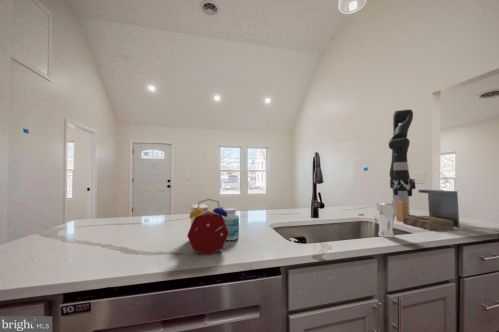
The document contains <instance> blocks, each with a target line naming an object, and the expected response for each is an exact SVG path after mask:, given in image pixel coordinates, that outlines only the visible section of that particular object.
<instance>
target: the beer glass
mask: <svg viewBox="0 0 499 332" xmlns="http://www.w3.org/2000/svg"><path fill="white" fill-rule="evenodd" d="M376 218H377V219H376V220H377V223H378V236H379V237H381V238H388V239H389V238H390V239H392V238H395V234H394V231H393V230H394V228H393V227H394V221H395V214H394V207H393V204H392V203H387V202H377V203H376Z"/></svg>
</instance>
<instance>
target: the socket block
mask: <svg viewBox="0 0 499 332" xmlns="http://www.w3.org/2000/svg"><path fill="white" fill-rule="evenodd" d="M403 219H404V222H403V225H407V226H412V227H415V228H419V229H423V230H427V231H434V230H449V229H450V228H451V229H454V228H455V227H454V224H453V221H452V220H447V219H441V218H436V217H430V216H429V215H413V216H408V217H403Z"/></svg>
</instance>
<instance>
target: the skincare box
mask: <svg viewBox="0 0 499 332" xmlns="http://www.w3.org/2000/svg"><path fill="white" fill-rule="evenodd" d="M190 207H191V208H190V209H191V211H190V213H191V212H192V211H194V208H195V209H196V208H197V207H198V204H192V205H190ZM206 207H207V209H206V210H205V212H203V213H202V214H204V213H206V212H208V211H209V206H208V205H206V204H205V203H204V204H203V203H202V204H199V208H197V209H200V208H202V209H203V210H204V209H205V208H206ZM202 214H200V215H202ZM198 216H199V215H198ZM195 217H197V216H195ZM195 217H193V218H190V226H191V225H192V223H193V221H194V219H195Z"/></svg>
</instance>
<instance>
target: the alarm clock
mask: <svg viewBox="0 0 499 332" xmlns="http://www.w3.org/2000/svg"><path fill="white" fill-rule="evenodd" d="M207 201H211V202H215V203H217V207H215V208H214V209H212V211H209V210H208V212H206V213H204V214H202V213H203V212H205V210H206V209H207V207H208V206H207V207H206V208H205V209H204V210H203V209H202V208H200V209H197V208H199V205H201V203H203V202H207ZM197 203H198V204H197V205H198V207H197V208H196V209H195V208H194V211H192V212H191V211H190V213H189V218H188V219H191V218H193V217H195V216H197V217H195V219H194V221H193V223H192V225H191V224H190V228H189V229H188V233H187V238H188V241H189V243H190V245H191V248H192V250H193V251H194V252H196V253H197V252H199V253H201V254H204V255H206V254H209V255H211V254H214V253H215V252H218V251H220V250H222V251H223V248H224V245H225V244H226V239H227V236H228V234H229V233H228V228H227V226H226V223H225V221H224V219H223V216H224V217H228V216H227V212H226V209H225V210H224V208H223V206H221V205H220V201H218V200H214V199H211V198H207V199H205V200H204V199H203V200H201V201H198V202H197ZM200 214H202V215H200ZM198 215H199V216H198Z"/></svg>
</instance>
